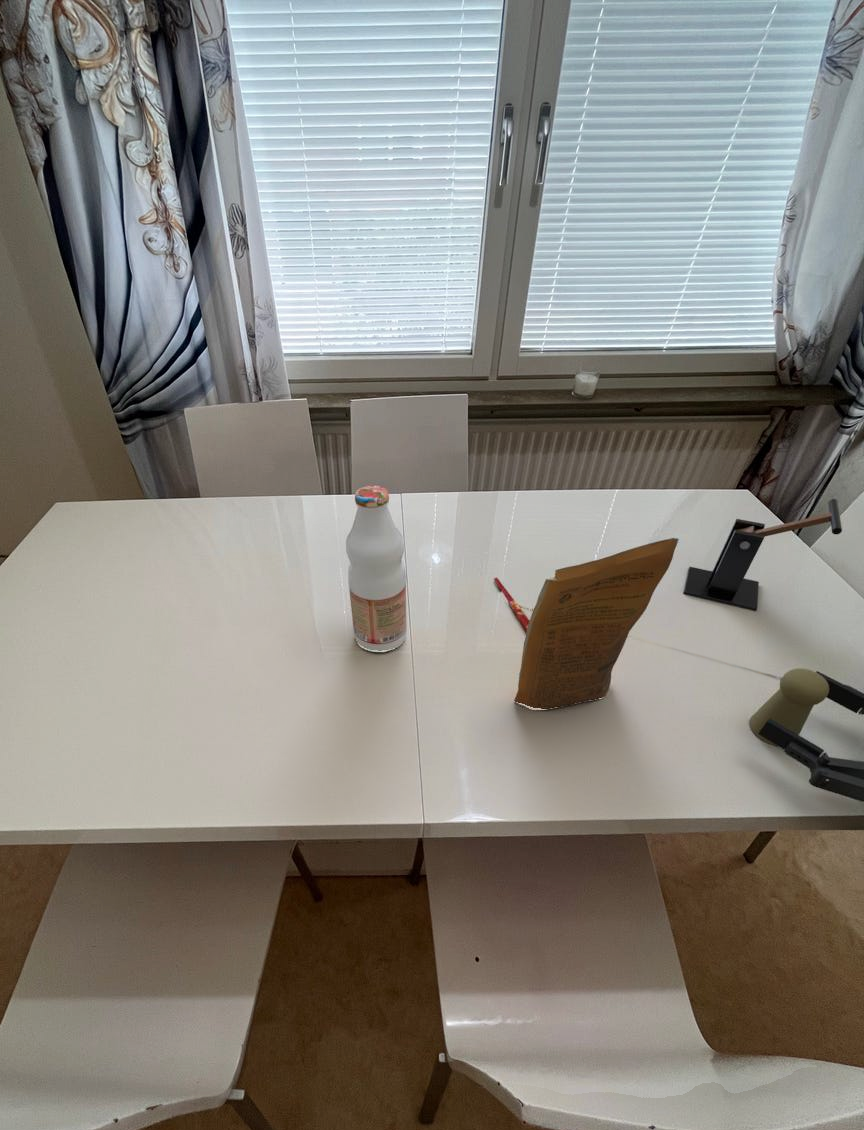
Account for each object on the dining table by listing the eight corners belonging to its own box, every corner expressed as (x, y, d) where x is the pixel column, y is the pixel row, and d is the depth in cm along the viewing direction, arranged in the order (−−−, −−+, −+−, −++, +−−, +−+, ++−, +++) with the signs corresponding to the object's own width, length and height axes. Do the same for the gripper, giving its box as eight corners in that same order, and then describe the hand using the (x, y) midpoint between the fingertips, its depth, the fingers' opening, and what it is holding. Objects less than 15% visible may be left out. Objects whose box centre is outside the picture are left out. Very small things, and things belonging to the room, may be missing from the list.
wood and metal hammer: (838, 507, 88) (836, 494, 87) (843, 536, 81) (840, 523, 80) (739, 531, 97) (735, 520, 96) (736, 559, 91) (732, 547, 90)
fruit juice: (346, 648, 93) (328, 503, 75) (365, 615, 100) (353, 474, 81) (397, 659, 91) (391, 512, 72) (413, 625, 97) (412, 482, 78)
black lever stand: (755, 586, 101) (790, 523, 92) (754, 614, 96) (791, 549, 86) (687, 571, 106) (713, 509, 96) (681, 596, 100) (709, 532, 91)
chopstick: (498, 579, 106) (498, 575, 106) (556, 660, 89) (557, 656, 88) (489, 581, 106) (489, 577, 105) (545, 662, 89) (546, 658, 88)
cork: (739, 719, 79) (772, 667, 71) (772, 709, 80) (808, 657, 72) (772, 751, 74) (812, 700, 67) (807, 740, 75) (849, 688, 68)
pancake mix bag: (633, 702, 82) (698, 547, 63) (516, 726, 79) (548, 573, 60) (610, 672, 87) (664, 519, 68) (499, 693, 84) (524, 542, 65)
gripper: (924, 895, 58) (730, 765, 70) (996, 771, 68) (815, 678, 81) (974, 863, 53) (754, 730, 65) (1043, 735, 63) (842, 642, 76)
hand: (788, 701), depth 73 cm, fingers open, 13 cm apart
